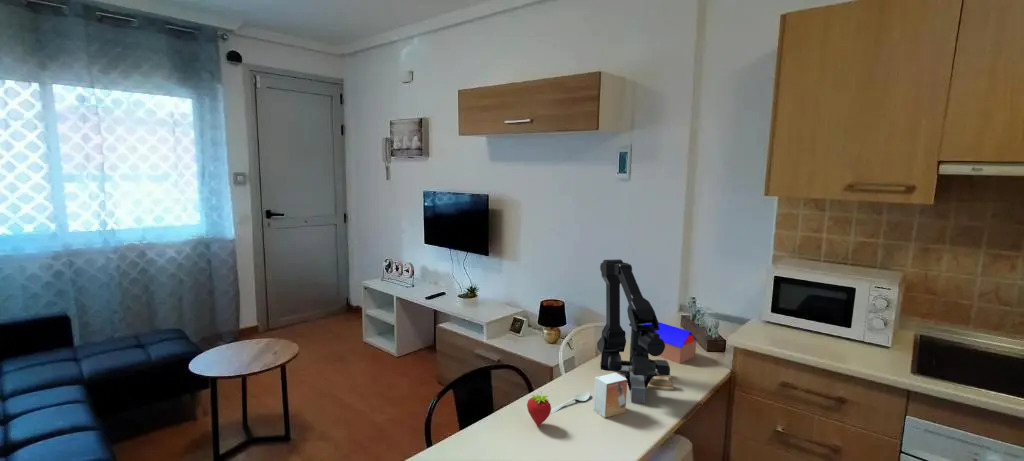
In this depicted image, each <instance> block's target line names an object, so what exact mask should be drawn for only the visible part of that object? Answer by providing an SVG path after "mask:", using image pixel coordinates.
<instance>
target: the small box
mask: <svg viewBox="0 0 1024 461" xmlns="http://www.w3.org/2000/svg"><path fill="white" fill-rule="evenodd" d="M627 391H628V383H627V379H626V377H625V376H623V375H621V374H619V373H618V372H613V373H608V374H604V375H599V376H595V377H594V394H593V411H595V412H596V413H597V414H599V415H600V416H601V417H602V418H605V419H606V418H609V417H612V416H616V415H620V414H625V413H626V408H627Z"/></svg>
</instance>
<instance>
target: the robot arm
mask: <svg viewBox="0 0 1024 461" xmlns="http://www.w3.org/2000/svg"><path fill="white" fill-rule="evenodd" d="M599 267H600V268H599V270H600V272H601V278H602V279H603V281H604V282H605V288H606V289H605V290H606V292H605V295H606V296H605V300H606V303H605V304H606V305H605V308H606V309H605V310H606V312H605V313H606V316H605V318H606V319H605V320H606V322H605V326H604V327H603V328H602V329H601V330H602V331H601V337H600V338H599V339H598V340H597V342H596V349H597V351H599V352H600V353H601V354H600V357H601V358H600V364H599V366H600V369H601V370H607V371H615V372H620V373H621V374H623V375H624V378H626V379H627V388H628V390H629V391H630V390H631V381H630V372H632V373H633V375H642V376H643V378H644V383H645V391H646V389H648V387H647V386H648V384H649V382H650V380H651V379H652V378H653V377H654V376H657V372H658V373H659V375H670V376H671V367H670V364H669V362H668V361H667V359H651V358H649V355H651V357H659V355H661V354H662V353H663V351H664V349H665V344H664V341H663V340H662V339H661V338H659V336H660V334H659V333H657V332H655V330H659V326H658V325H659V323H658V322H659V320H658V318H657V314H656V311H655V309H654V308H653V305H652V304H651V302H650V301H649V300H648V299H646V298H645V297H644V296H643V294H642V292H641V290H640V287H639V285H638V283H637V281H636V278H635V275H634V273H633V267H632V264H630V263H628V262H624V261H623V260H622V259H620V258H619V259H617V258H616V259H603V261H602V262H601V263H600V265H599ZM621 287H622V290H623V293H624V295H625V298H626V300H627V302H628V303H627V304H628V305H627V308H626V311H627V319H628V321H629V323H628V326H629V327H630V328H631V330H630V343H629V344H630V345H629V360H622V355H621V353H624V351H625V348H626V344H627V338H626V334H627V333H626V331H625V330H623V328H622V326H621ZM649 323H652V324H651V325H643V324H649ZM630 368H631V369H632V370H631V371H630Z"/></svg>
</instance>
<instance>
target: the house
mask: <svg viewBox="0 0 1024 461" xmlns="http://www.w3.org/2000/svg"><path fill="white" fill-rule="evenodd" d="M658 323H659V325H658V326H659V330H655V332H657V333H659V334H660V336H659V338H661V339H662V340H663V341H664V344H665V349H664V351H663V353H662V354H661V355H659V356H658V357H660V358H661V359H664V360H668V361H671V362H674V363H676V364H679V365H680V364H682V363H684V362H686V361H688V360H690V359H691V360H692V359H693V358H695V357H696V349H697V341H698V339H697V338H696V336H694V334H693V333H692V331H691V330H686V329H683V328H680V327H677V326H674V325H670V324H666V323H664V322H660V321H658ZM651 324H652V323H649V324H643V325H651Z"/></svg>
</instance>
